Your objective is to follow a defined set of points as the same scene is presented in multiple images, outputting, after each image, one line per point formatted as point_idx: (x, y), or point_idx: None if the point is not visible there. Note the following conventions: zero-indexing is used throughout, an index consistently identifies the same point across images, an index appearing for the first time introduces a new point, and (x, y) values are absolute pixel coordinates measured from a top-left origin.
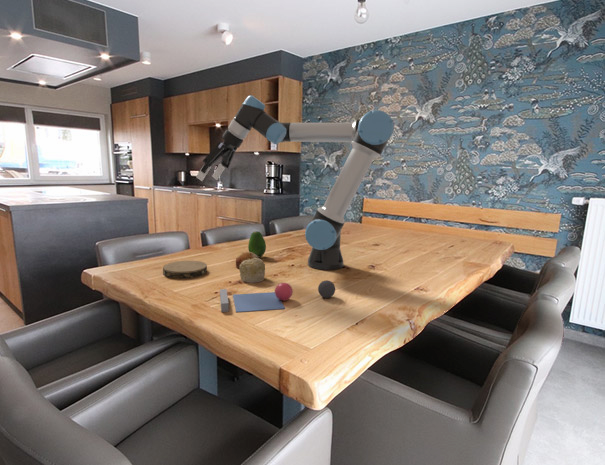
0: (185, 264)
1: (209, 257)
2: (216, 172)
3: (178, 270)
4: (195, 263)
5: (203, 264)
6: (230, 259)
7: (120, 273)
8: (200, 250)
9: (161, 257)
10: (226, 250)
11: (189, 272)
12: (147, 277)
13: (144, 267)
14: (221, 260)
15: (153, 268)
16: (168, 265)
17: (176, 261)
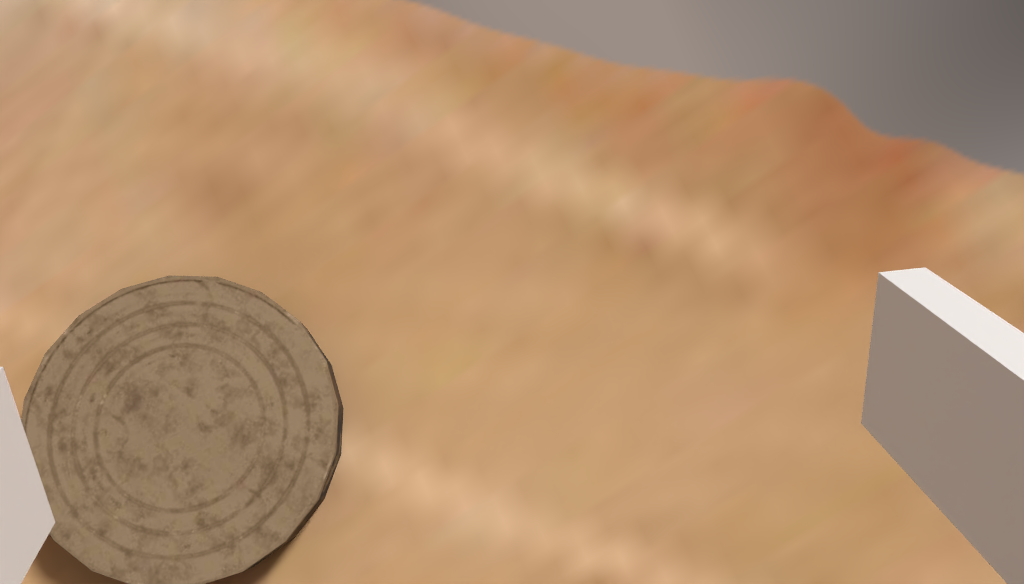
0: (212, 406)
1: (624, 350)
2: (973, 407)
3: (50, 458)
4: (266, 456)
5: (261, 529)
6: (643, 535)
7: (33, 68)
8: (783, 165)
9: (474, 41)
10: None
11: (62, 542)
12: (8, 274)
13: (205, 107)
14: (585, 486)
15: (205, 174)
16: (145, 312)
17: (264, 294)
